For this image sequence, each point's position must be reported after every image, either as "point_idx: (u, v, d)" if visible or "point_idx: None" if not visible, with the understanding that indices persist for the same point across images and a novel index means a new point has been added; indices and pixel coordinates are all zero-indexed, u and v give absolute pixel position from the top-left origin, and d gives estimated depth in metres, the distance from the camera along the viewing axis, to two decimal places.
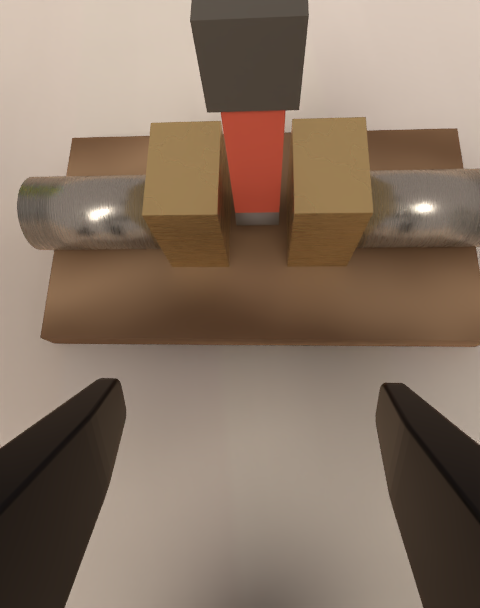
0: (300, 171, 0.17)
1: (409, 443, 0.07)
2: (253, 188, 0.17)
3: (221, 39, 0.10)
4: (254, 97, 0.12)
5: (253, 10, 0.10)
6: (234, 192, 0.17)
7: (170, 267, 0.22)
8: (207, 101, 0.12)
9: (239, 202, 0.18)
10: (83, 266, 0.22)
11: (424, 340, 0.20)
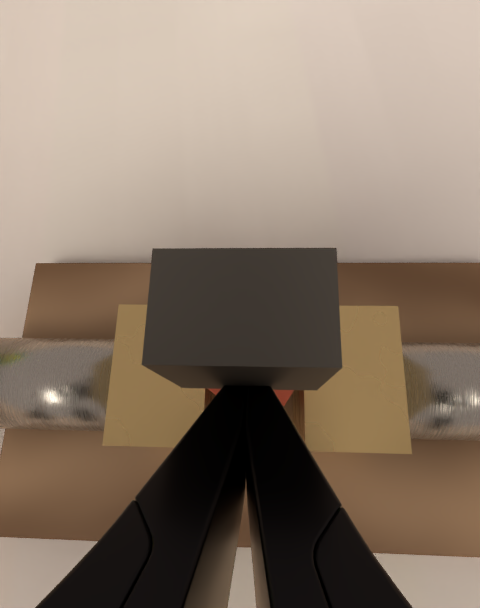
0: None
1: (246, 439, 0.07)
2: None
3: (196, 371, 0.06)
4: None
5: (248, 349, 0.06)
6: None
7: None
8: (181, 384, 0.08)
9: None
10: (42, 437, 0.18)
11: (466, 555, 0.16)
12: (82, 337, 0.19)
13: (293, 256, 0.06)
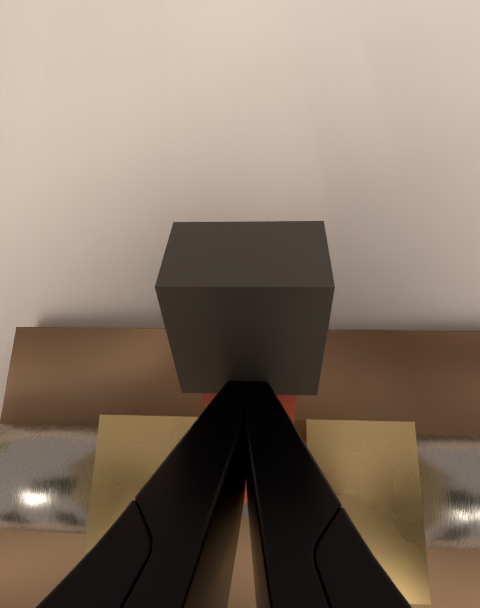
0: None
1: None
2: None
3: (202, 310, 0.07)
4: (250, 376, 0.08)
5: (250, 276, 0.07)
6: None
7: None
8: (181, 380, 0.08)
9: None
10: None
11: None
12: (66, 412, 0.18)
13: (289, 225, 0.08)
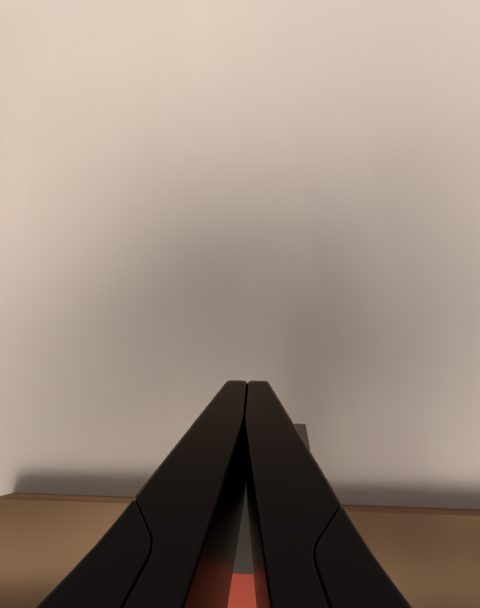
0: None
1: None
2: None
3: None
4: None
5: None
6: None
7: None
8: None
9: None
10: None
11: None
12: None
13: None
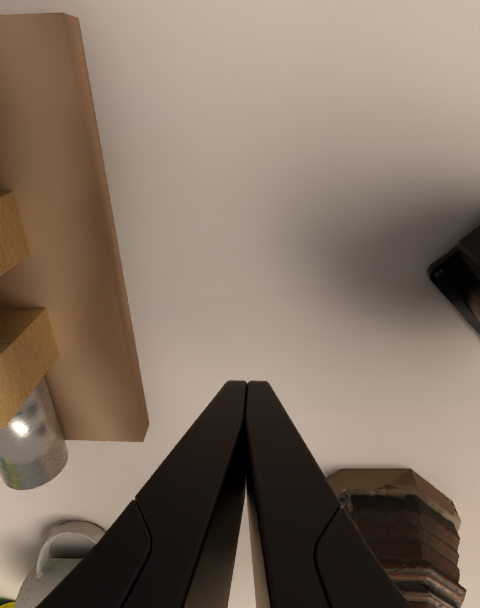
0: None
1: (246, 439, 0.07)
2: None
3: None
4: None
5: None
6: None
7: (60, 356, 0.23)
8: None
9: None
10: (76, 419, 0.25)
11: (79, 102, 0.17)
12: None
13: None
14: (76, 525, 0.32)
